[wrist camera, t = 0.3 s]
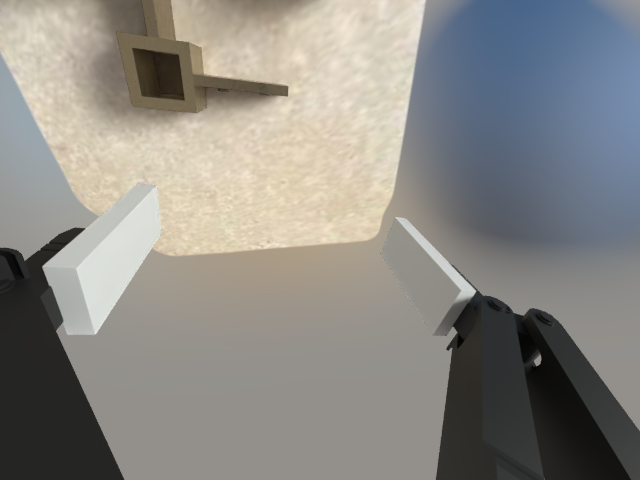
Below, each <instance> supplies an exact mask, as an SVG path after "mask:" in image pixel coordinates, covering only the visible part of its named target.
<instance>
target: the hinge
mask: <svg viewBox="0 0 640 480" xmlns="http://www.w3.org/2000/svg"><path fill="white" fill-rule="evenodd" d="M141 1H142V6H143V12H144V18H145V23H146V29H147V35H148V36H142V35H135V34H129V33H122V32H116V34H117V38H118V43H119V48H120V52H121V57H122V61H123V66H124V70H125V75H126V79H127V84H128V88H129V93H130V97H131V102H132V106H133V107H141V108H151V109H161V110H171V111H181V112H192V113H198V112H200V111H202V110H203V109H205V108H207V104H206V94H205V87H213V88H218V91H225V92H229V89H230V90H238V91H246V92H255V93H259V94H262V95H269V94H272V95H280V96H288V86H286V85H282V84H274V83H266V82H258V81H250V80H242V79H235V78H227V77H219V76H211V75H204V72H203V62H202V51H201V48H200V47H198V46H196V45H194V44H191V43H189V42H182V41H176V38H175V30H174V23H173V15H172V7H171V0H141ZM154 52H155V53H162V54H170V55H177V56H179V59H180V67H181V75H182V82H183V90H184V96H181V95H172V94H163V93H160V87H159V81H158V75H157V70H156V64H155V58H154Z"/></svg>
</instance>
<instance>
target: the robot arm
mask: <svg viewBox="0 0 640 480" xmlns="http://www.w3.org/2000/svg"><path fill="white" fill-rule="evenodd" d="M160 234H161V226H160V215H159V204H158V192H157V185H152V184H145V183H138V184H137V185H136V186H135V187H133V188H132V189H131V190H130V191H129V192H128V193H127V194H125V195H124V196H123V197H122V198H121V199H120V200H118V201H117V202H116V203H115V204H114V205H113V206H112V207H110V208H109V209H108V210H107V211H106V212H105V213H103V214H102V215H101V216H100V217H99V218H98V219H97V220H95V221H94V222H93V223H92V224H91V225H90V226H88V227H87V228H86V229H85V228H73V229H70V230H68V231H66V232H63V233H61V234H59V235H58V236H56V237H55V238H54V239H53V240H51V241H50V242H49V244H46V245H45V246H43V247H42V248H41V250H40V251H37V252H36V253H35V254H33V255H32V256H31V257H29V258H28V259H27V260H26V261H24V258H23V256H22V254H21V253H20V252H19V251H17V250H14V249H10V248H0V480H124V478H123V476H122V474H121V472H120V469H119V467H118V465H117V463H116V461H115V458H114V456H113V454H112V452H111V450H110V448H109V446H108V443H107V441H106V439H105V437H104V435H103V432H102V430H101V428H100V426H99V424H98V422H97V419H96V417H95V415H94V413H93V411H92V408H91V406H90V404H89V402H88V400H87V398H86V395H85V394H84V391H83V389H82V387H81V385H80V382H79V380H78V378H77V376H76V374H75V372H74V369H73V367H72V365H71V363H70V361H69V359H68V356H67V354H66V352H65V350H64V348H63V346H62V343H61V341H60V339H59V337H58V335H57V333H56V330H57V329H58V327H59V326H60V325H61V324H62V323H63V324H64V327H65V330H66V332H67V334H68V335H96V333H97V332H98V330H99V328H100V327H101V325H102V324H103V322H104V321H105V319H106V318H107V316H108V315H109V313H110V311H111V310H112V308H113V307H114V305H115V304H116V302H117V301H118V299H119V297H120V296H121V295H122V293H123V291H124V290H125V288H126V287H127V285H128V284H129V282H130V281H131V279H132V278H133V276H134V274H135V273H136V271H137V270H138V268H139V267H140V265H141V264H142V262H143V261H144V259H145V258H146V256H147V254H148V253H149V251H150V250H151V248H152V247H153V245H154V244H155V242H156V241H157V239H158V238H159V236H160ZM380 254H381V256H382V257H383V259H384V260H385V262H386V263H387V265H388V266H389V268H390V270H391V271H392V273H393V274H394V276H395V278H396V279H397V281H398V282H399V284H400V285H401V287H402V288H403V290H404V292H405V293H406V294H407V296H408V298H409V299H410V301H411V302H412V304H413V306H414V307H415V309H416V310H417V312H418V313H419V315H420V316H421V318H422V319H423V321H424V323H425V324H426V326H427V327H428V329H429V330H430V332H431V333H432V335H436V336H439V335H440V336H443V335H445V336H446V335H447V334H448V333H449V331H450V330H451V328H452V327H454V328H455V329H456V331H457V334H456V335H455V337H454V338H453V340H452V341H451V342H450V344H449V345H448V347H447V350H449V349H450V348H453V349H452V356H451V364H450V372H449V380H448V388H447V396H446V404H445V412H444V421H443V428H442V437H441V445H440V452H439V460H438V468H437V476H436V480H544V478H545V480H640V431H639V430H638V428H637V427H636V426H635V424H634V423H633V422H632V420H631V419H630V418H629V416H628V415H627V413H626V412H625V411H624V409H623V408H622V407H621V405H620V404H619V403H618V401H617V400H616V398H615V397H614V396H613V395H612V393H611V392H610V390H609V389H608V388H607V386H606V385H605V383H604V382H603V381H602V379H601V378H600V377H599V375H598V374H597V373H596V371H595V370H594V368H593V367H592V366H591V365H590V363H589V362H588V361H587V359H586V358H585V356H584V355H583V354H582V352H581V351H580V349H579V348H578V347H577V345H576V344H575V343H574V342H573V340H572V339H571V337H570V336H569V334H568V333H567V332H566V330H565V329H564V328H563V326H562V325H561V324H560V323H559V322H558V321H557V320H556V319H555V318H553V316H552V315H550V314H548V313H546V312H543V311H541V310H538V309H534V308H532V309H529V310H528V312H527V313H526V314H525V315H524V316H522V315H518V314H515V313H513V311H512V310H511V309H510V307H509V306H508V305H506V304H505V303H503V302H502V301H500V300H498V299H496V298H494V297H491V296H483V295H482V294H481V293H480V292H479V291H478V290H477V289H476V288H475V287H474V286H473V285H472V284H471V283H470V282H469V281H468V280H466V278H465V277H464V276H463V275H462V274H460V272H459V271H458V270H457V269H456V268H455V267H454V266H453V265H451V264H450V263H448V262H447V261H446V260H445V258H444V257H443V256H442V255H441V254H440V253H439V252H438V251H437V250H436V249H435V248H434V247H433V246H432V245H431V244H430V243H429V242H428V241H427V240H426V239H425V238H424V237H423V236H422V235H421V234H420V233H419V232H418V231H417V230H416V229H415V228H414V227H413V226H412V225H411V224H410V223H409V221H408V220H406V219H405V218H398V217H395V218H394V220H393V223H392V225H391V228H390V231H389V233H388V235H387V238H386V240H385V243H384V245H383V248H382V250H381V253H380ZM540 354H541V359H542V360H541V364H540V365H539V366H536V365H535V363H534V360H535V359H536V358H537V357H538V356H539V355H540Z"/></svg>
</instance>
